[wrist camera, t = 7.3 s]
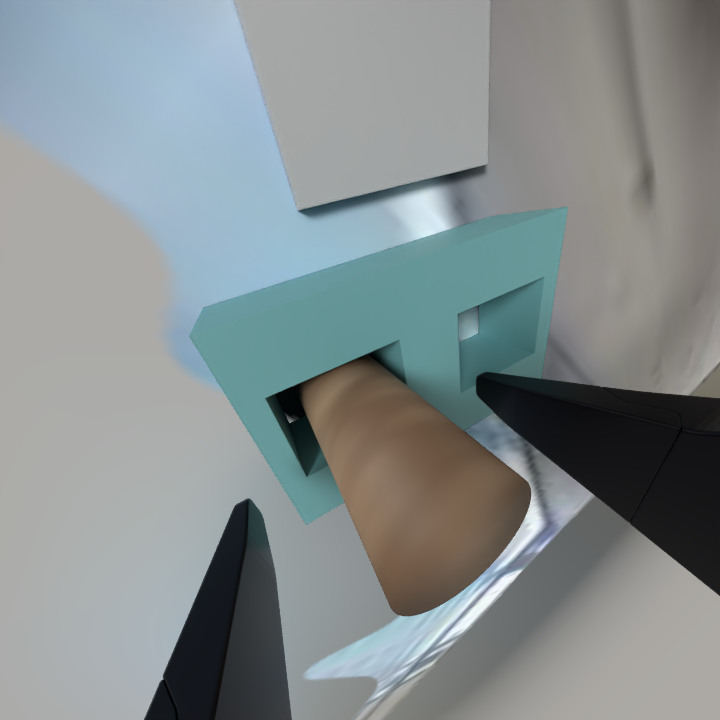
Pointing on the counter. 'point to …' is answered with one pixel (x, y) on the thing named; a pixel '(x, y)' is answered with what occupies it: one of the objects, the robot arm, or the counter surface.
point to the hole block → (387, 333)
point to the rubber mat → (371, 90)
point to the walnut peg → (412, 484)
